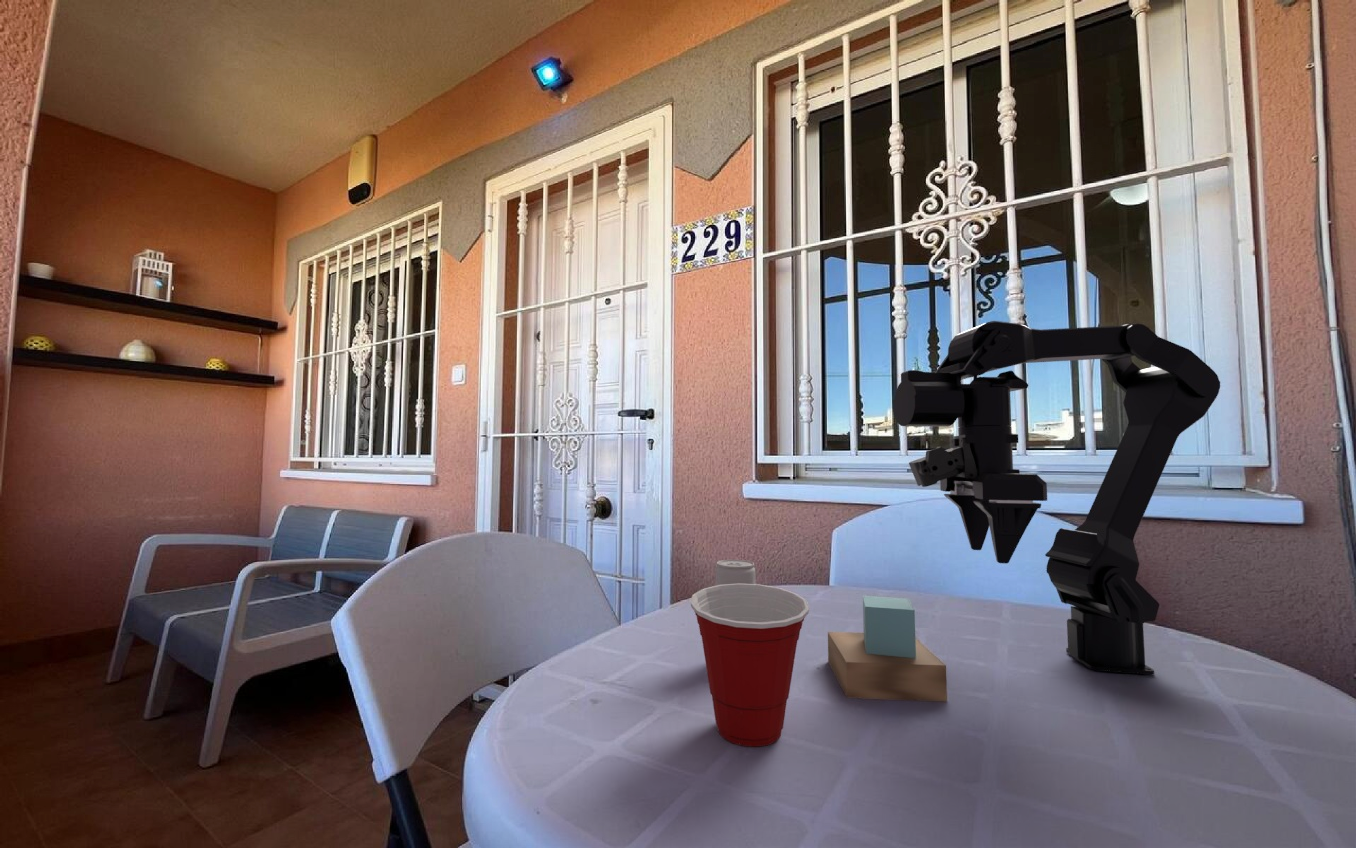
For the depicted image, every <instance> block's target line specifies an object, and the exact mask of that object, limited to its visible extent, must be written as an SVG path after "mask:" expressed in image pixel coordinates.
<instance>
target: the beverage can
mask: <svg viewBox="0 0 1356 848" xmlns="http://www.w3.org/2000/svg"><path fill="white" fill-rule="evenodd" d="M738 583H740V584H756V568H755V563H754V561H750V560H745V559H723V560H718V561H717V562H716V566H715V586H717V585H725V584H738Z"/></svg>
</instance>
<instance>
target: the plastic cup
mask: <svg viewBox="0 0 1356 848" xmlns="http://www.w3.org/2000/svg"><path fill="white" fill-rule="evenodd" d="M689 604H690V606H691V609H692V610H693V611H694V613H695V616H696V620H697V621H696V622H697V624H698V628H699V634H700V636H701V641H702V647H703V654H704V660H705V666H706V667H705V669H706V673H707V674H706V675H707V680H708V685H709V686H708V687H709V693H710V695H711V699H712V706H713V712H714V718H715V719H714V720H715V724H716V726H717V732H719V734H720V735H721V737H722V738H724V740H727V741H728V742H730V743H732V744H735V745H739V746H744V747H753V748H755V747H757V748H758V747H763V746H764V747H765V746H768V745H771V744H773V743H775V742H777V741H778V740H779V739H780V737H781V735H782V734H781V733H782V730H783V729H784V723H785V717H786V711H787V710H786V709H787V704H788V703H787V701H788V699H789V694H790V690H791V683H792V676H793V670H794V664H795V657H796V651H797V645H798V641H799V639H800V633H801V629H802V627H803V622H804V621H805V618H806V617H807V615H808V614H809V612H810V608H811V607H810V605H809V603H808V600H807V599H805V598H804V597H802V596H801V595H800V594H798V593H796V592H793V591H790V590H787V589H785V588H781V587H776V586H771V585H765V584H759V583H755V584H740V583H738V584H725V585H717V586H716V585H713V586H709V587H705V588H702V589H700V590H698V591H697V592H695V593H694V594H693V593H692V595H691V598H690V601H689Z"/></svg>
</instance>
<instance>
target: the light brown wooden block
mask: <svg viewBox="0 0 1356 848" xmlns="http://www.w3.org/2000/svg"><path fill="white" fill-rule="evenodd" d="M915 641H916V658H908V657H897V656H887V655H876V654H866V649H865V643H864V632H851V631H850V632H849V631H848V632H846V631H827V654H828V655H827V656H828V657H827V658H828V659H827V661H828V662H827V663H828V664H829V666H830V667H831V668H830V669H831V670H832V672H833V674H834V675H835V678H836V679H837V681H838V683H839V685H840V687H841V689H842V691H843V692H844V694H845V695H844V696H845V697H846V698H847V699H867V700H869V699H870V700H874V699H875V700H895V701H896V700H897V701H898V700H899V701H919V700H922V701H923V702H924V701H925V702H948V690H947V688H948V687H947V685H948V683H947V681H948V680H947V664H946V663H944V662H943V661H942V660H941V659H940V658H939V657H938V656H937V655H935V653H933V651H931V650H930V649H929V648H928V647H927V646H925V644H924V643H922V642H921V641H920V640H919V639H918V638H917V637H916V636H915Z"/></svg>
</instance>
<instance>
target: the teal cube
mask: <svg viewBox="0 0 1356 848" xmlns="http://www.w3.org/2000/svg"><path fill="white" fill-rule="evenodd" d="M862 611H863V612H862V617H863V618H862V619H863V620H862V621H863V633H864V643H865V649H866V654H876V655H887V656H897V657H908V658H916V641H915V637H916V615H915V613H916V612H915V607H914V606H913V605H912V603H911V601H910V599H909V598H904V597H903V598H900V597H889V596H887V597H886V596H872V595H871V596H869V595H862Z"/></svg>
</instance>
